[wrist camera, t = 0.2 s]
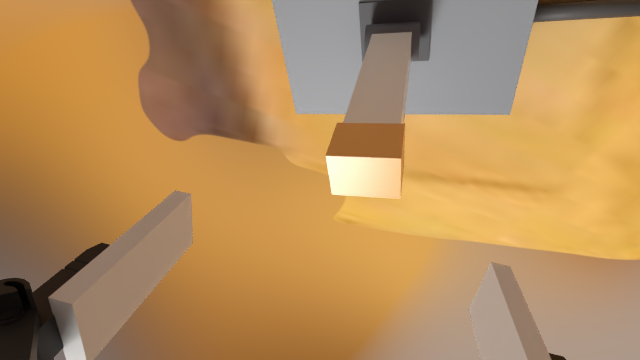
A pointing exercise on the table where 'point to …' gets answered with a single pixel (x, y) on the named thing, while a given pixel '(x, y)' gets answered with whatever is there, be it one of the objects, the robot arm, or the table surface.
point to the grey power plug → (421, 48)
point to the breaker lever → (375, 116)
